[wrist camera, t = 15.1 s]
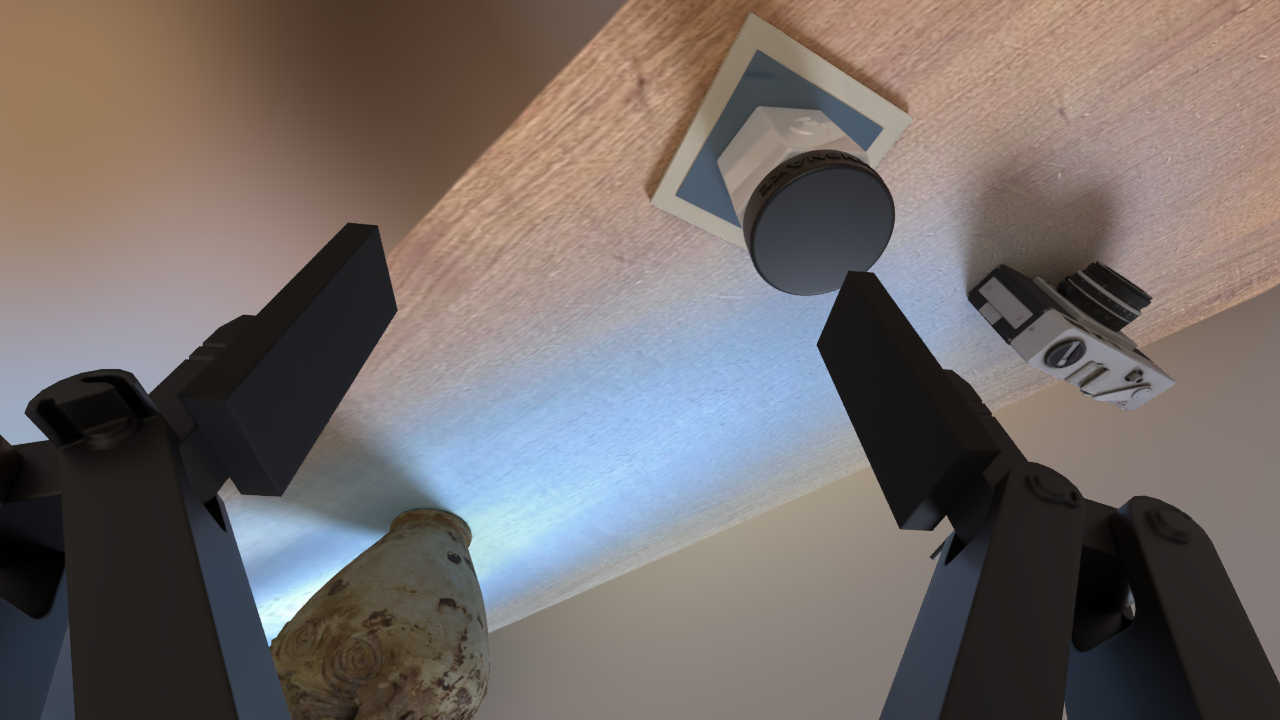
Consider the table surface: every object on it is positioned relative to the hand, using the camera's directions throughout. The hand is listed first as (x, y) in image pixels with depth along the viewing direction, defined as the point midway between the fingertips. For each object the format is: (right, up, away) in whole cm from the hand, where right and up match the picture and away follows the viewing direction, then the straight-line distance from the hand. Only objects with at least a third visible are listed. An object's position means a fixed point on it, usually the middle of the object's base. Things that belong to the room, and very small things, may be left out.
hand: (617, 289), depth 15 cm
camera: (+39, +4, +32) cm, 50 cm away
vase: (-28, -25, +56) cm, 67 cm away
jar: (+11, +13, +23) cm, 29 cm away
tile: (+11, +13, +24) cm, 29 cm away
